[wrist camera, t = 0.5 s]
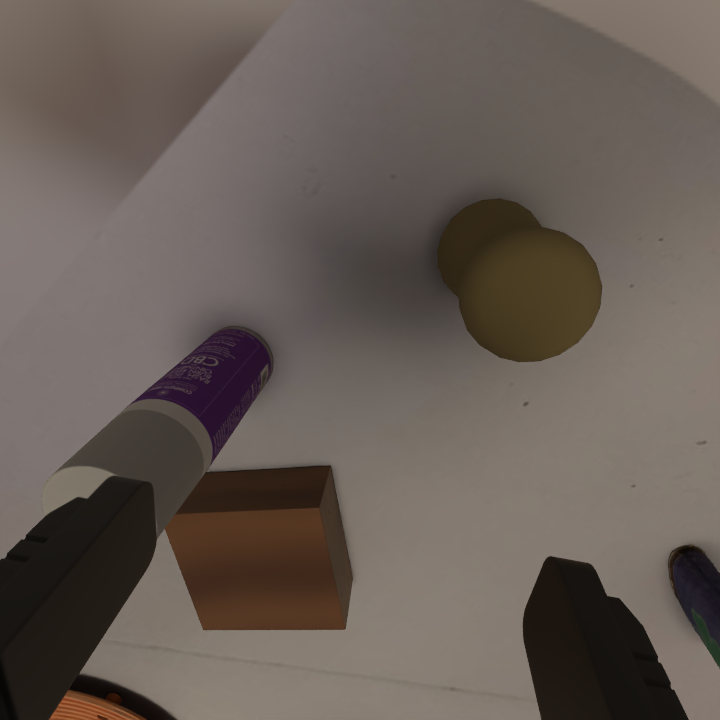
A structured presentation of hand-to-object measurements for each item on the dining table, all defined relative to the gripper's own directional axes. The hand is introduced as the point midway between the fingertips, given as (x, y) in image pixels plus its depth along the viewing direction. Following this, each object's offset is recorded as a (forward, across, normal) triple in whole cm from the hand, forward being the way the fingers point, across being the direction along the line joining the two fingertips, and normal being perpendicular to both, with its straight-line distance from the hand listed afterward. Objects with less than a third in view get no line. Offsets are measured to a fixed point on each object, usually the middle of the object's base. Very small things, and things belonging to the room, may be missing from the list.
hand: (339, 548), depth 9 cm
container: (+20, +9, +6) cm, 23 cm away
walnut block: (+20, +6, +20) cm, 29 cm away
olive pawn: (+21, -5, -3) cm, 21 cm away
